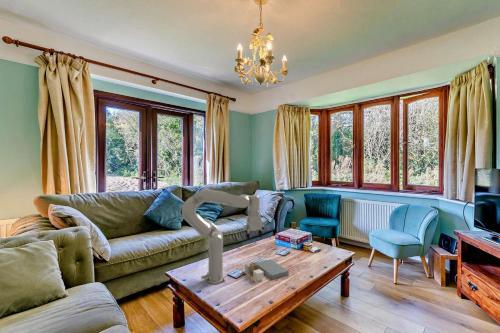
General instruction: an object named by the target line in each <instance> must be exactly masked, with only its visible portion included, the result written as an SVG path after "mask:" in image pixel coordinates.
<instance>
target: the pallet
mask: <svg viewBox="0 0 500 333" xmlns="http://www.w3.org/2000/svg"><path fill="white" fill-rule="evenodd" d="M250 263H251V264H250V274H248V273H247V272H246V271H245V269H242V272H243V273H244V274H245V275H246V276H248V277H249V278H250V279H251V280H252V281H253V282H254V283H255V284H259V283H262V282H265V281H267V279H266V278H265V277H264V278H263V280H260V281H256V280H255V279H254V278H253V271H254V270H258V264H257V262H250Z"/></svg>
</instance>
